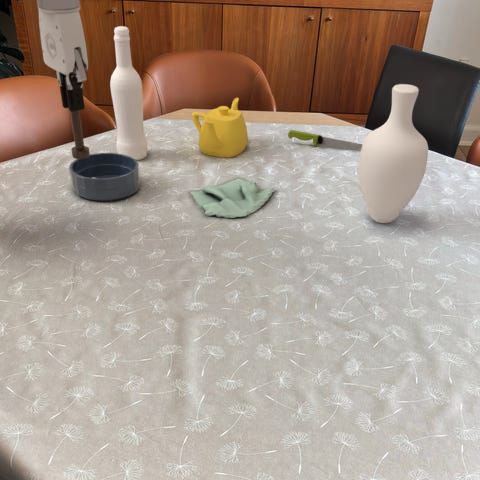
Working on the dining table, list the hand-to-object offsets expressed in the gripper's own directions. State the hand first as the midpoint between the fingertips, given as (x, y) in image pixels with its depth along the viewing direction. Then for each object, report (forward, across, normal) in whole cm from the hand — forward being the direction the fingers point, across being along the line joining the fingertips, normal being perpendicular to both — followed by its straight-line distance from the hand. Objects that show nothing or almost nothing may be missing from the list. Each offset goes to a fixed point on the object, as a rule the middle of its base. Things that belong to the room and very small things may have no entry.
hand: (73, 107), depth 130 cm
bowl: (+24, -13, +12) cm, 30 cm away
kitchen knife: (+24, -1, +75) cm, 79 cm away
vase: (+24, +39, +54) cm, 71 cm away
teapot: (+24, -18, +50) cm, 58 cm away
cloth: (+24, +10, +34) cm, 43 cm away
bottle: (+24, -27, +28) cm, 46 cm away
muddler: (+10, 0, 0) cm, 10 cm away
